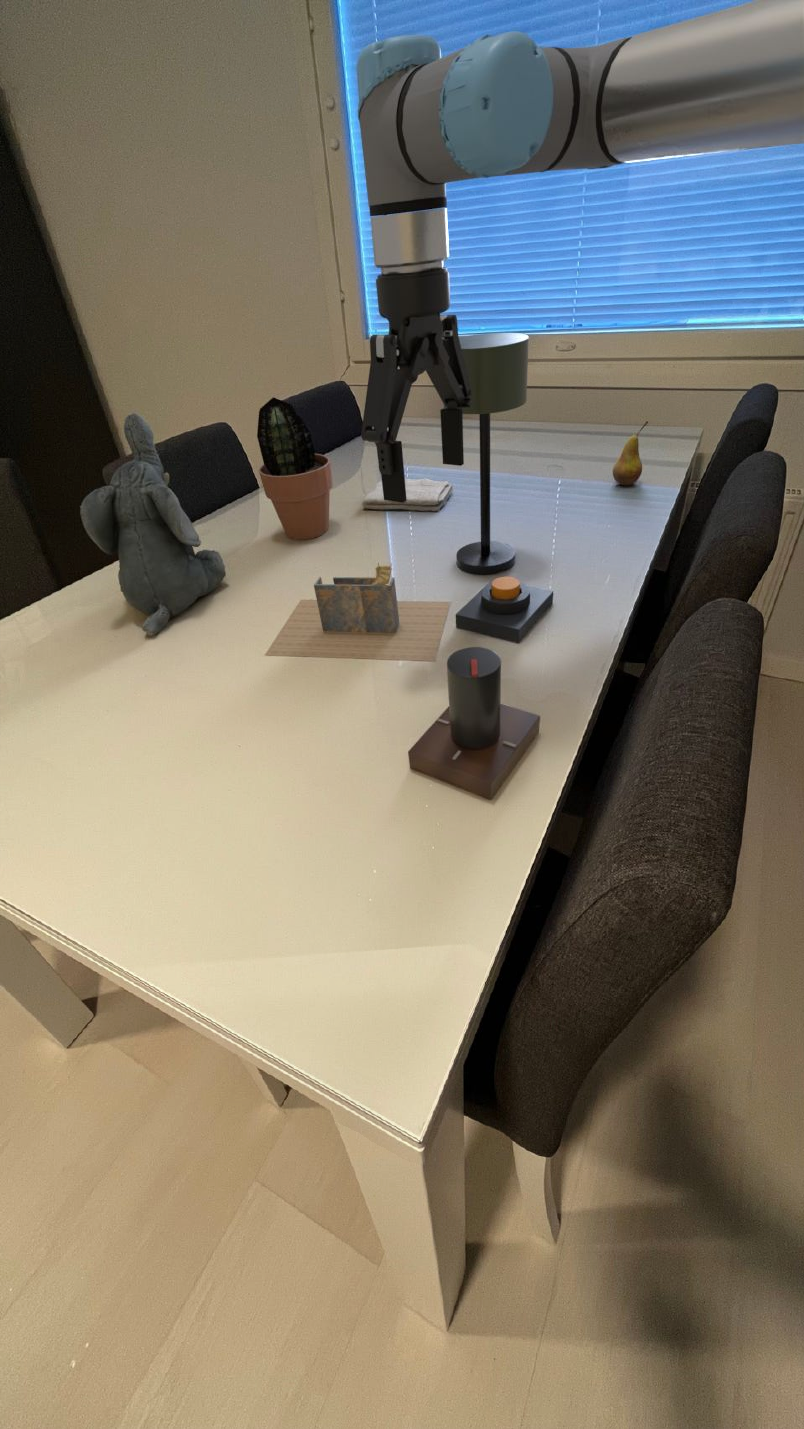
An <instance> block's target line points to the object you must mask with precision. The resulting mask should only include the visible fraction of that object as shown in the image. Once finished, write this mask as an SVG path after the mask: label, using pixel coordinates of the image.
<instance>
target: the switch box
mask: <svg viewBox="0 0 804 1429" xmlns="http://www.w3.org/2000/svg"><path fill="white" fill-rule="evenodd" d="M495 579H496V578H492V579H491V581H490V582H488V583H487V584H486V585H485V586H484V587H483V588H481V590H480V591H478V593H477V594H476V595H475V596H474V597H472V598H471V599H470V600H469V601H468V602H467V603H466V604H465V605H464V606H463V607H461V609H460V610H458V612H456V613H455V628H458V629H461V630H465V631H470V632H473V633H477V634H480V635H481V634H482V635H485V636H490V637H494V638H497V639H501V640H505V641H508V642H509V641H510V642H513V643H517V644H519V643H520V642H521V641H522V640H523V639H524V638H525V636H526V635H527V634H528V633H529V632H530V631H531V630H532V629H533V627H534V626H535V625H536V624H537V623H538V622H539V620H540V619H541V618H542V617H543V616H544V615H545V614H546V612H547V611H548V610H549V609H550V608H551V607H552V606H553V603H554V592H555V591H554V590H549V589H545V588H540V587H535V586H534V587H533V586H530V585H526V584H525V583H523V582H521V581H519V582H520V592H519V596H518V597H515V598H513V599H498V598H494V597H493V596H492V581H493V580H495Z"/></svg>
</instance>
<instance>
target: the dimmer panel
mask: <svg viewBox="0 0 804 1429" xmlns="http://www.w3.org/2000/svg"><path fill="white" fill-rule="evenodd" d="M540 723H541V715H539V714H536V713H534V712H530V711H526V710H524V709H520V708H517V707H514V706H510V705H508V704H504V703H501V706H500V736H499V738H498V740H497V741H496V742H495V743H494V744H492V745H491V746H489V747H486V748H482V749H468V748H464V747H462V746H460V745H458V744H457V743H455V742H454V740H453V739H452V737H451V730H450V711H449V706H448V707H447V708H446V709H445V710H444V711H443V712H442V713H441V714H440V715H439V717H437V719H436V720H435V721H434V722H433V723H432V724H431V725H430V727H429V728H428V729H427V730H426V731H425V732H424V733H423V735H421V736H420V738H419V739H418V740H417V741H416V742H415V743H414V744H413V746H411V748H410V749H409V750H408V751H407V754H408V765H409V769H411V770H413V771H416V772H419V773H421V774H424V775H426V776H428V777H431V778H434V779H435V780H436V779H437V780H439V781H441V782H444V783H446V784H448V785H452V786H454V787H456V788H459V789H461V790H465V791H466V792H469V793H472V794H475V795H477V796H479V797H481V798H484V799H487V800H490V801H492V800H493V798H494V797H495V796H496V794H497V792H498V791H499V790H500V789H501V787H502V785H503V784H504V783H505V782H506V780H507V779H508V777H509V775H510V774H511V773H512V771H513V770H514V768H516V766H517V765H518V763H519V761H520V760H521V758H522V757H523V755H524V754H525V753H526V751H527V750H528V749H529V747H530V746H531V744H532V743H533V741H534V740H535V739H536V737H537V735H538V734H539V733H540Z"/></svg>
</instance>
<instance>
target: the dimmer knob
mask: <svg viewBox="0 0 804 1429" xmlns="http://www.w3.org/2000/svg"><path fill="white" fill-rule="evenodd" d="M446 672H447V690H448V693H447V694H448V707H449V711H450V730H451V737H452V739H453V740H454V742H455V743H457V744H458V745H460V746H462V747H464V748H468V749H482V748H486V747H489V746H491V745H492V744H494V743H495V742H496V741H497V740H498V738H499V736H500V706H501V704H502V702H501V701H502V699H501V698H502V697H501V696H502V695H501V694H502V693H501V692H502V691H501V690H502V659H501V657H500V655H499V654H498V653H497V652H495V651H494V650H492V649H489V648H487V647H481V646H469V647H464V648H461V649H458V650H455V651H454V652H453V653H451V654H450V656H449V657H448V658H447V660H446Z"/></svg>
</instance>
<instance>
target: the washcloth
mask: <svg viewBox="0 0 804 1429" xmlns="http://www.w3.org/2000/svg"><path fill="white" fill-rule="evenodd" d="M405 487H406V499H407V501H405V502H404V503H401V502H394V501H388V500H384V496H383V487H382V479H381V480H378V481H377V482H376V484H375V485H374V487H373V488H372V490H371V491H370V492H369V493H368V494H367V495H366V496H365V497H364V499H362V501H361V506H362V508H364V509H368V510H383V511H385V510H388V511H389V510H390V511H391V510H393V511H394V510H406V511H419V512H425V511H428V512H429V511H432V512H440V509H441V508H442V507H443V506H444V505H446V503H447V501H448V499H449V497H450V496H451V495H452V492H453V490H454V489H453V487H454V486H453V484H451V483H449V481H447V480H444V481H440V480H439V481H438V480H431V479H430V478H420V479H414V478H413V479H410V478H405Z"/></svg>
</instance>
